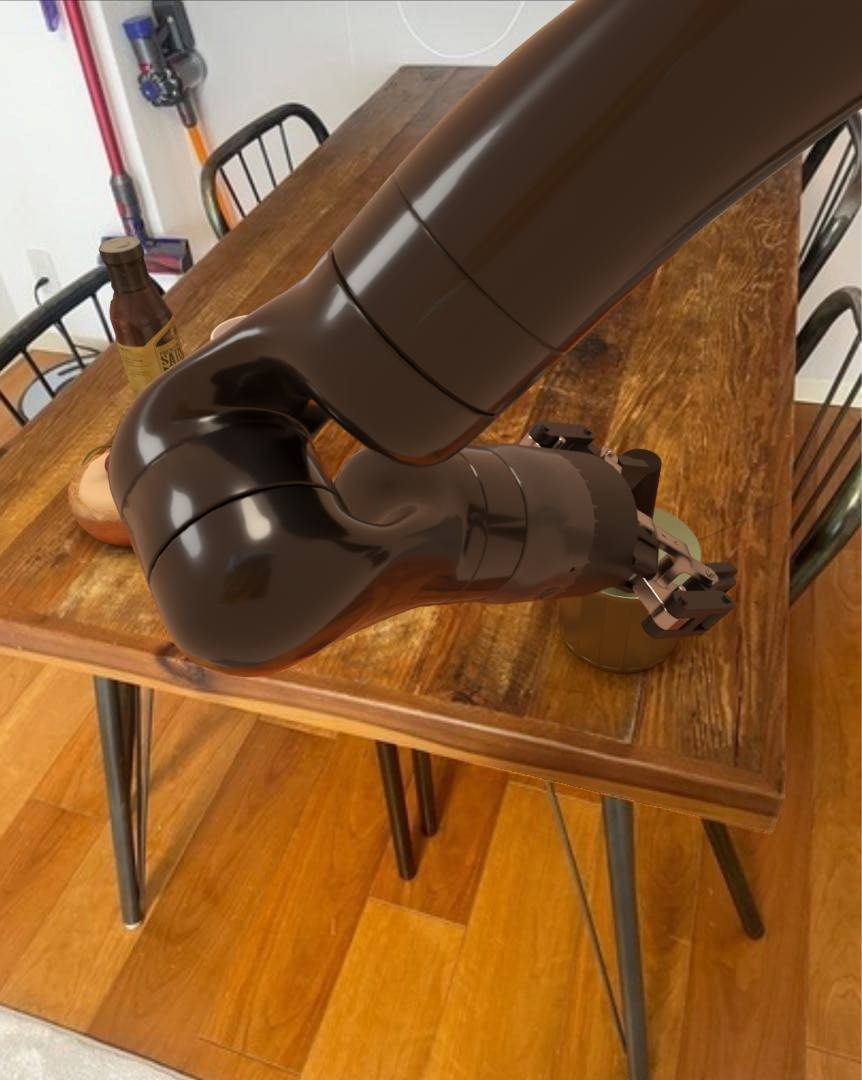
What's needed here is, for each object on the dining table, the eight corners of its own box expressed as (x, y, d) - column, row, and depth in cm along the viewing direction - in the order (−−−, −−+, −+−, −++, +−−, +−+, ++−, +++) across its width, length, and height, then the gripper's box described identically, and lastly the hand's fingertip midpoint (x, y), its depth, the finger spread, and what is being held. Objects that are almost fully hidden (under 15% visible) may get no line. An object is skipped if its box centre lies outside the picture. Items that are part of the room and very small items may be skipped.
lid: (598, 496, 69) (608, 401, 63) (722, 544, 64) (745, 446, 58) (530, 571, 63) (533, 475, 57) (660, 631, 58) (679, 532, 52)
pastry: (224, 524, 81) (202, 448, 75) (102, 576, 77) (69, 500, 71) (180, 462, 89) (156, 389, 83) (66, 506, 85) (33, 432, 79)
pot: (628, 571, 74) (638, 495, 68) (702, 642, 68) (721, 565, 62) (536, 612, 71) (539, 537, 65) (605, 691, 65) (616, 615, 59)
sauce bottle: (193, 434, 93) (141, 258, 79) (136, 436, 93) (75, 261, 79) (206, 400, 97) (159, 229, 84) (152, 402, 98) (96, 232, 84)
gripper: (668, 588, 36) (804, 573, 48) (492, 367, 43) (650, 402, 55) (558, 690, 40) (709, 652, 52) (411, 473, 46) (576, 484, 58)
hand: (679, 524), depth 53 cm, fingers open, 8 cm apart
